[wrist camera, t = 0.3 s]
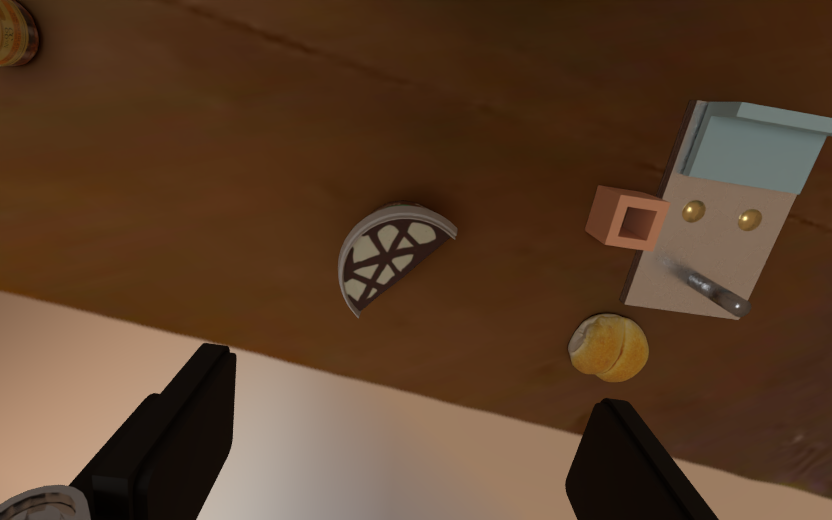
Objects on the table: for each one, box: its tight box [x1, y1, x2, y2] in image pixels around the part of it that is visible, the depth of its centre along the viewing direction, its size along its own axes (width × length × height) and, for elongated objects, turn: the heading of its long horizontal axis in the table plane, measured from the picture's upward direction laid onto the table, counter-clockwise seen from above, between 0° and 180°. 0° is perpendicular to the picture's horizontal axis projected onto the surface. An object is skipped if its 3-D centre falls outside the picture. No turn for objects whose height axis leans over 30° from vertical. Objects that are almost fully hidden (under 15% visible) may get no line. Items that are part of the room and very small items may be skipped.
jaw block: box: [585, 185, 671, 252], centre depth 44 cm, size 5×5×5 cm
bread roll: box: [568, 314, 649, 382], centre depth 50 cm, size 8×9×4 cm
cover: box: [683, 102, 832, 194], centre depth 41 cm, size 7×12×4 cm, turn 81°
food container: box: [338, 200, 457, 318], centre depth 41 cm, size 12×6×10 cm, turn 131°
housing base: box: [620, 100, 797, 320], centre depth 43 cm, size 22×14×8 cm, turn 171°
